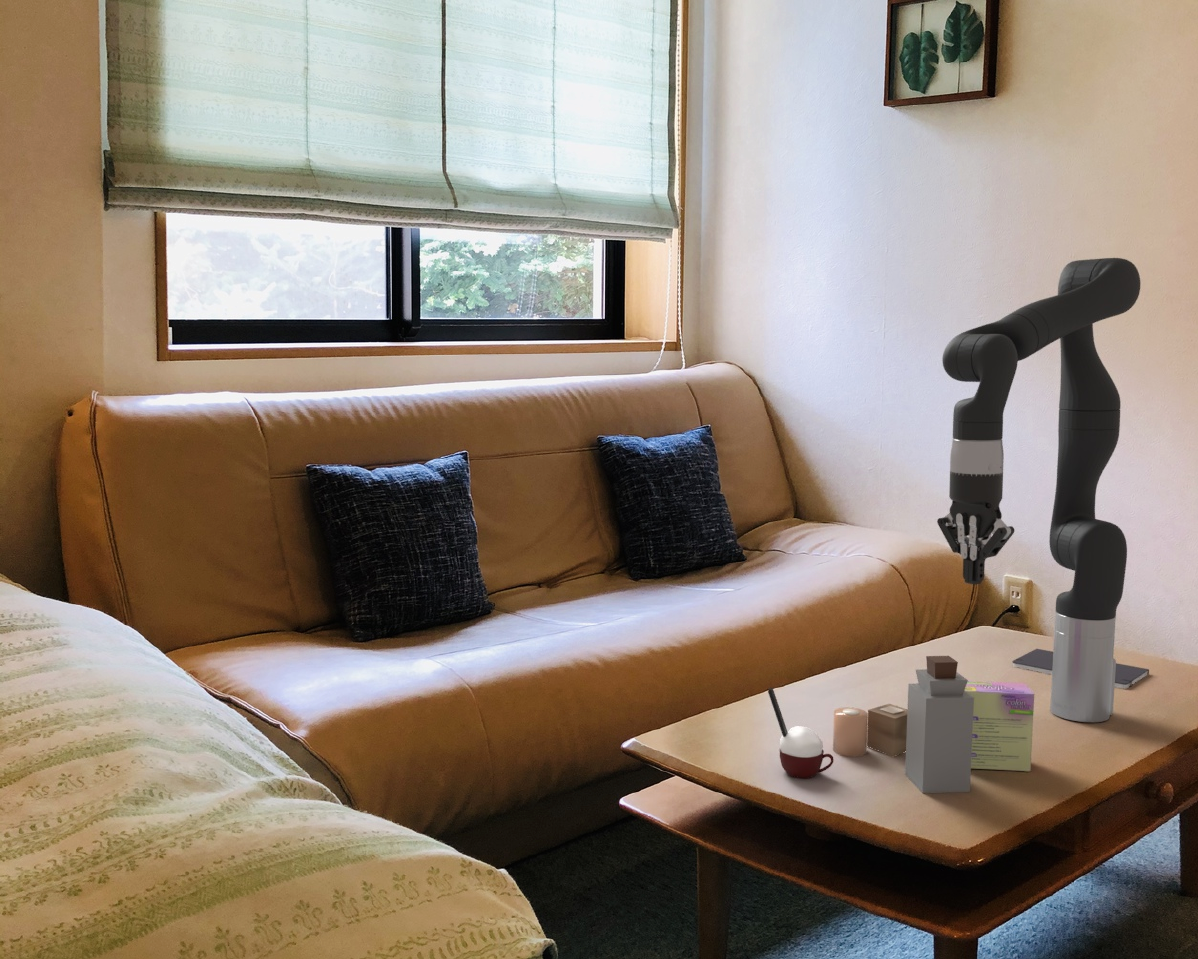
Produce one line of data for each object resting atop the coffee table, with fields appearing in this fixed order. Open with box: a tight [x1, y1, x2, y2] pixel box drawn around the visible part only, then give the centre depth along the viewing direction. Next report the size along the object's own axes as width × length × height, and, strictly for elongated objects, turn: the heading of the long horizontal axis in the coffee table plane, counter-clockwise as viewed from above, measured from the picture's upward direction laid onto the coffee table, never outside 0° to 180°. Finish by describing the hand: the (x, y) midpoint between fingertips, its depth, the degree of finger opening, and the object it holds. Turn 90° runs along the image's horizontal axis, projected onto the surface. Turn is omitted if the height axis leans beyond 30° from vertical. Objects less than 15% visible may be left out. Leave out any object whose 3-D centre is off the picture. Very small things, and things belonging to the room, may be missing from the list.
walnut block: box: [867, 703, 908, 757], centre depth 171 cm, size 5×5×6 cm
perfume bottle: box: [904, 655, 974, 794], centre depth 156 cm, size 7×7×18 cm
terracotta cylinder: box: [832, 706, 868, 758], centre depth 170 cm, size 5×5×6 cm
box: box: [965, 680, 1035, 773], centre depth 164 cm, size 10×6×12 cm, turn 84°
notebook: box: [1011, 648, 1150, 690], centre depth 212 cm, size 13×2×21 cm
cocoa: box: [767, 686, 834, 779], centre depth 160 cm, size 10×6×12 cm, turn 48°
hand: (973, 583), depth 168 cm, fingers closed
